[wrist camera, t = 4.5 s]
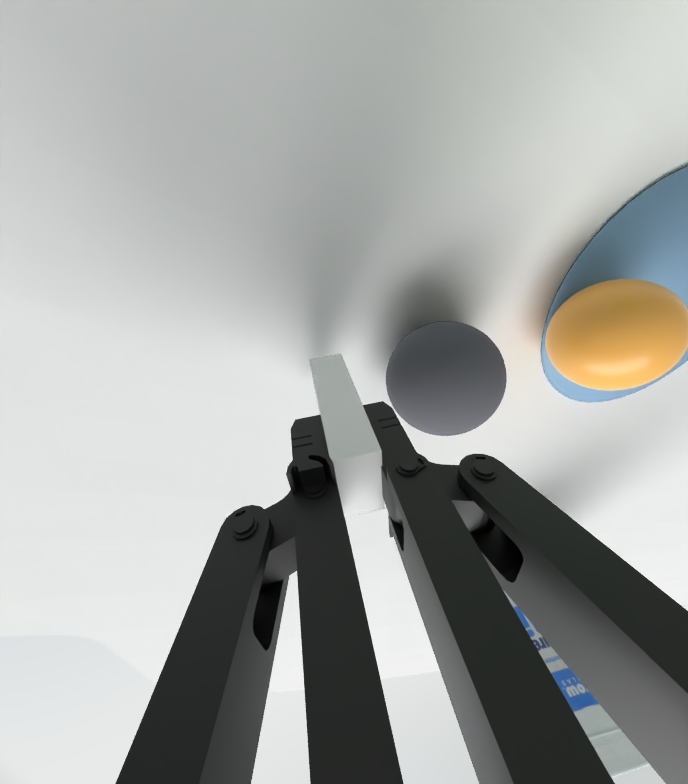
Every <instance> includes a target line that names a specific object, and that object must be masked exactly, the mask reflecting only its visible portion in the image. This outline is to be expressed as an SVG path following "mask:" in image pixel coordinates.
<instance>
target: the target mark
mask: <svg viewBox="0 0 688 784" xmlns="http://www.w3.org/2000/svg"><path fill="white" fill-rule="evenodd" d="M616 279H639V280H646V281H649V282H653V283H657V284H659V285H661V286H663V287H665V288H667V289H669V290H670V291H672V292H673V293H675V294H676V295H677V296H678V297H679V298H680V299H681V300H682V301H683V303H684V304H685V305H686V307H687V309H688V167H685V168H682V169H680V170H678V171H677V172H675V173H673V174H671V175H669V176H667V177H665V178H663V179H662V180H660V181H658V182H657V183H655V184H654V185H652V186H651V187H649V188H648V189H646V190H645V191H643V192H642V193H641V194H639V195H638V196H637V197H636V198H634V199H633V200H632V201H631V202H629V203H628V204H627V205H626V206H624V207H623V208H622V209H621V210H620V211H619V212H618V213H617V214H616V215H615V216H614V217H613V218H612V219H610V220H609V221H608V222H607V224H606V225H605V226H604V227H603V228H602V229H601V230H600V231H599V232H598V233H597V234H596V236H595V237H594V238H593V239H592V240H591V241H590V243H589V244H588V245H587V246H586V248H585V249H584V250H583V252H582V253H581V254H580V255H579V257H578V258H577V260H576V261H575V263H574V264H573V266H572V267H571V269H570V270H569V272H568V273H567V275H566V277H565V279H564V280H563V282H562V284H561V286H560V288H559V289H558V291H557V294H556V296H555V298H554V300H553V303H552V305H551V307H550V310H549V313H548V316H547V319H546V322H545V326H544V331H543V336H542V346H541V357H542V365H543V369H544V373H545V375H546V377H547V379H548V381H549V382H550V384H551V385H552V386H553V387H554V388H555V389H556V390H557V391H558V392H560V393H561V394H562V395H564V396H566V397H568V398H570V399H573V400H577V401H581V402H602V401H609V400H613V399H617V398H621V397H624V396H626V395H629V394H632V393H635V392H637V391H639V390H641V389H643V388H645V387H647V386H649V385H651V384H653V383H655V382H657V381H658V380H660V379H662V378H663V377H665V376H666V375H668V374H670V373H671V372H673V371H674V370H675V369H677V368H678V367H679V366H681V365H682V364H684V363H685V362H686V361H687V360H688V348H687V350H686V351H685V353H684V355H683V356H682V358H681V359H680V360H679V362H678V363H677V364H676V365H675V366H674V367H672V368H671V369H670V370H669V371H668V372H667V373H665V374H664V375H662V376H661V377H659V378H657V379H655V380H653V381H651V382H649V383H647V384H644V385H641V386H638V387H635V388H630V389H624V390H614V391H606V390H596V389H591V388H587V387H583V386H580V385H578V384H576V383H574V382H571V381H570V380H568V379H567V378H565V377H564V376H563V375H561V374H560V373H559V372H558V371H557V370H556V369H555V367H554V366H553V365H552V363H551V361H550V359H549V357H548V355H547V351H546V346H545V337H546V331H547V328H548V325H549V322H550V320H551V318H552V317H553V315H554V314H555V312H556V311H557V310H558V308H559V307H560V306H561V305H562V304H563V303H564V302H565V301H566V300H568V299H569V298H570V297H571V296H573V295H574V294H576V293H577V292H579V291H581V290H583V289H585V288H587V287H589V286H592V285H595V284H597V283H600V282H604V281H608V280H616Z"/></svg>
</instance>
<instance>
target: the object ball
mask: <svg viewBox="0 0 688 784" xmlns="http://www.w3.org/2000/svg"><path fill="white" fill-rule="evenodd" d="M545 346H546V351H547V355H548V357H549V359H550V361H551V363H552V365H553V366H554V367H555V369H556V370H557V371H558V372H559V373H560V374H561V375H563V376H564V377H565V378H567V379H568V380H570V381H571V382H574V383H576V384H578V385H580V386H583V387H587V388H591V389H596V390H606V391H614V390H624V389H630V388H635V387H638V386H641V385H644V384H647V383H649V382H651V381H653V380H655V379H657V378H659V377H661V376H662V375H664V374H665V373H667V372H668V371H669V370H670V369H671V368H672V367H674V366H675V365H676V364H677V363H678V362H679V360H680V359H681V358H682V356H683V355H684V353H685V351H686V350H687V348H688V309H687V307H686V305H685V304H684V303H683V301H682V300H681V299H680V298H679V297H678V296H677V295H676V294H675V293H673V292H672V291H670V290H669V289H667V288H665V287H663V286H661V285H659V284H657V283H653V282H649V281H646V280H639V279H616V280H608V281H604V282H600V283H597V284H595V285H592V286H589V287H587V288H585V289H583V290H581V291H579V292H577V293H576V294H574V295H573V296H571V297H570V298H569V299H568V300H566V301H565V302H564V303H563V304H562V305H561V306H560V307H559V308H558V310H557V311H556V312H555V314H554V315H553V317H552V318H551V320H550V322H549V325H548V328H547V331H546V337H545Z"/></svg>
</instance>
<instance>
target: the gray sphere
mask: <svg viewBox="0 0 688 784" xmlns="http://www.w3.org/2000/svg"><path fill="white" fill-rule="evenodd" d="M386 386H387V392H388V396H389V398H390V401H391V403H392V405H393V407H394V409H395V410H396V411H397V413H398V414H399V415H400V416H401V417H402V418H403V419H404V420H405V421H406V422H407V423H408V424H410V425H411V426H413V427H415V428H416V429H418V430H420V431H423V432H425V433H429V434H433V435H440V436H451V435H458V434H462V433H466V432H468V431H471V430H473V429H475V428H477V427H478V426H480V425H481V424H483V423H484V422H485V421H486V420H487V419H489V418H490V417H491V416H492V414H493V413H494V412H495V411H496V409H497V408H498V406H499V404H500V402H501V400H502V398H503V395H504V392H505V388H506V368H505V364H504V360H503V358H502V355H501V353H500V351H499V349H498V348H497V346H496V345H495V344H494V343H493V341H492V340H491V339H490V338H489V337H488V336H487V335H485V334H484V333H483V332H481V331H480V330H478V329H476V328H474V327H472V326H470V325H467V324H464V323H459V322H453V321H441V322H435V323H431V324H427V325H424V326H422V327H420V328H418V329H416V330H414V331H412V332H411V333H410V334H408V335H407V336H406V337H405V338H404V339H403V340H402V341H401V342H400V343H399V344H398V345H397V347H396V348H395V350H394V352H393V353H392V355H391V357H390V360H389V363H388V367H387V372H386Z"/></svg>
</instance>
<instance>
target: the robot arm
mask: <svg viewBox="0 0 688 784" xmlns="http://www.w3.org/2000/svg"><path fill="white" fill-rule="evenodd" d="M309 361H310V366H311V371H312V377H313V382H314V387H315V393H316V398H317V403H318V408H319V413H320V415H317V416H312V417H307V418H302V419H297V420H295V422H294V424H293V426H292V428H291V439H292V455H293V461H292V462H291V463H290V465H289V466H288V469H287V474H286V475H287V478H288V481H289V484H290V488H291V490H290V492H289V493H288V495H287V496H286V497H285V498H283V499H282V500H281V501H279V502H278V503H276V504H274V505H272V506H270V507H268V508H266V509H263V508H262V507H260V506H255V505H250V506H245V507H242V508H240V509H238V510H236V511H234V512H233V513H232V514H231V515H230V516H228V517H227V518H226V520H225V521H224V523H223V525H222V526H221V528H220V531H219V533H218V536H217V538H216V540H215V543H214V545H213V548H212V550H211V553H210V555H209V558H208V560H207V562H206V565H205V567H204V570H203V572H202V575H201V577H200V579H199V582H198V584H197V587H196V589H195V592H194V594H193V597H192V599H191V601H190V604H189V606H188V609H187V611H186V614H185V616H184V618H183V621H182V623H181V626H180V628H179V631H178V633H177V636H176V638H175V640H174V643H173V645H172V648H171V650H170V653H169V655H168V657H167V660H166V662H165V665H164V667H163V670H162V672H161V675H160V677H159V679H158V682H157V684H156V687H155V689H154V692H153V694H152V696H151V699H150V701H149V704H148V707H147V709H146V711H145V713H144V716H143V719H142V721H141V723H140V726H139V729H138V731H137V733H136V736H135V738H134V740H133V743H132V745H131V748H130V750H129V752H128V755H127V757H126V760H125V762H124V765H123V767H122V770H121V772H120V774H119V777H118V779H117V782H116V784H251V780H252V774H253V769H254V763H255V758H256V753H257V747H258V741H259V736H260V731H261V726H262V720H263V715H264V709H265V704H266V698H267V692H268V688H269V682H270V677H271V671H272V666H273V661H274V655H275V650H276V644H277V639H278V634H279V628H280V623H281V617H282V612H283V607H284V601H285V596H286V590H287V585H288V580H289V575H291V574H292V573H294V572H295V571H297V575H298V591H299V607H300V623H301V639H302V655H303V670H304V686H305V702H306V718H307V733H308V748H309V764H310V781H311V784H403V780H402V775H401V771H400V766H399V762H398V757H397V753H396V748H395V743H394V739H393V735H392V730H391V725H390V721H389V716H388V712H387V707H386V703H385V698H384V694H383V689H382V685H381V680H380V676H379V671H378V666H377V662H376V657H375V653H374V648H373V644H372V639H371V635H370V630H369V626H368V621H367V617H366V612H365V608H364V603H363V599H362V594H361V590H360V585H359V580H358V576H357V571H356V567H355V562H354V558H353V553H352V549H351V544H350V540H349V535H348V531H347V526H346V522H345V518H347V517H351V516H356V515H360V514H364V513H368V512H373V511H377V510H381V509H385V507H384V501H385V504H386V507H387V510H388V514H389V534H390V537H393V536H394V539H395V541H396V544H397V547H398V550H399V553H400V556H401V559H402V562H403V565H404V567H405V570H406V573H407V576H408V579H409V582H410V585H411V588H412V591H413V593H414V596H415V599H416V602H417V605H418V608H419V611H420V614H421V617H422V619H423V622H424V625H425V628H426V631H427V634H428V637H429V640H430V642H431V645H432V648H433V651H434V654H435V657H436V660H437V663H438V666H439V668H440V671H441V674H442V677H443V680H444V683H445V686H446V689H447V692H448V694H449V697H450V700H451V703H452V706H453V709H454V712H455V714H456V717H457V720H458V723H459V726H460V729H461V732H462V735H463V738H464V741H465V743H466V746H467V749H468V752H469V755H470V758H471V761H472V764H473V767H474V769H475V772H476V775H477V778H478V781H479V784H615V783H614V782H613V780H612V778H611V776H610V775H609V773H608V771H607V769H606V768H605V766H604V764H603V762H602V761H601V759H600V757H599V756H598V754H597V752H596V750H595V749H594V747H593V745H592V743H591V742H590V740H589V738H588V736H587V735H586V733H585V731H584V729H583V728H582V726H581V724H580V723H579V721H578V719H577V717H576V716H575V714H574V712H573V710H572V709H571V707H570V705H569V703H568V702H567V700H566V698H565V697H564V695H563V693H562V691H561V690H560V688H559V686H558V684H557V683H556V681H555V679H554V677H553V676H552V674H551V672H550V671H549V669H548V667H547V665H546V664H545V662H544V660H543V658H542V657H541V655H540V653H539V651H538V650H537V648H536V646H535V645H534V643H533V641H532V639H531V638H530V636H529V634H528V632H527V631H526V629H525V627H524V625H523V624H522V622H521V620H520V618H519V617H518V615H517V613H516V612H515V610H514V608H513V606H512V605H511V603H510V601H509V599H508V598H507V596H506V594H505V592H506V593H507V595H508V596H509V597H510V598H511V599H512V601H513V602H514V603H515V604H516V605H517V607H518V608H519V609H520V610H521V611H522V612H523V614H524V615H525V616H526V617H527V618H528V620H529V621H530V622H531V623H532V624H533V626H534V627H535V628H536V629H537V630H538V632H539V633H540V634H541V635H542V636H543V638H544V639H545V640H546V641H547V642H548V643H549V645H550V646H551V647H552V648H553V649H554V651H555V652H556V653H557V654H558V655H559V657H560V658H561V659H562V660H563V661H564V663H565V664H566V665H567V666H568V667H569V668H570V670H571V671H572V672H573V673H574V674H575V676H576V677H577V678H578V679H579V680H580V682H581V683H582V684H583V685H584V686H585V688H586V689H587V690H588V691H589V692H590V694H591V695H592V696H593V697H594V698H595V699H596V701H597V702H598V703H599V704H600V705H601V707H602V708H603V709H604V710H605V711H606V713H607V714H608V715H609V716H610V717H611V719H612V720H613V721H614V722H615V723H616V724H617V726H618V727H619V728H620V729H621V730H622V732H623V733H624V734H625V735H626V736H627V738H628V739H629V740H630V741H631V742H632V744H633V745H634V746H635V747H636V748H637V750H638V751H639V752H640V753H641V754H642V755H643V757H644V758H645V759H646V760H647V761H648V763H649V764H650V765H651V766H652V767H653V768H654V770H655V771H656V772H657V773H658V775H659V776H660V777H661V778H662V779H663V780H664V782H665V783H666V784H688V611H687V610H686V609H684V608H683V607H682V606H681V605H679V604H678V603H677V602H676V601H674V600H673V599H672V598H671V597H669V596H668V595H667V594H666V593H664V592H663V591H662V590H661V589H659V588H658V587H657V586H656V585H654V584H653V583H652V582H651V581H649V580H648V579H647V578H646V577H644V576H643V575H642V574H641V573H639V572H638V571H637V570H636V569H634V568H633V567H632V566H631V565H629V564H628V563H627V562H626V561H624V560H623V559H622V558H621V557H619V556H618V555H617V554H616V553H614V552H613V551H612V550H611V549H609V548H608V547H607V546H606V545H604V544H603V543H602V542H601V541H599V540H598V539H597V538H596V537H594V536H593V535H592V534H591V533H589V532H588V531H587V530H586V529H584V528H583V527H582V526H581V525H579V524H578V523H577V522H576V521H574V520H573V519H572V518H571V517H569V516H568V515H567V514H566V513H564V512H563V511H562V510H561V509H559V508H558V507H557V506H556V505H554V504H553V503H552V502H550V501H549V500H548V499H547V498H545V497H544V496H543V495H542V494H540V493H539V492H538V491H537V490H535V489H534V488H533V487H532V486H530V485H529V484H528V483H527V482H525V481H524V480H523V479H522V478H520V477H519V476H518V475H517V474H515V473H514V472H513V471H512V470H510V469H509V468H508V467H507V466H505V465H504V464H503V463H502V462H500V461H499V460H497V459H495V458H494V457H491V456H488V455H485V454H472V455H468V456H466V457H464V458H463V459H462V460H461V462H460V464H459V465H441V464H435V463H432V462H429V461H428V460H427V459H426V458H425V457H424V456H422V455H420V454H418V453H417V452H416V451H415V449H414V447H413V445H412V443H411V442H410V440H409V438H408V436H407V434H406V432H405V431H404V429H403V427H402V425H401V424H400V422H399V420H398V418H397V416H396V414H395V413H394V411H393V409H392V408H391V407H390V406H389V405H387V404H386V403H384V402H383V401H382V402H377V403H372V404H367V405H362V403H361V400H360V398H359V395H358V393H357V391H356V388H355V386H354V384H353V381H352V379H351V376H350V374H349V372H348V369H347V367H346V365H345V362H344V360H343V357H342V355H341V354H337V355H331V356H326V357H320V358H315V359H309ZM503 590H504V591H505V592H504V591H503Z"/></svg>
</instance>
